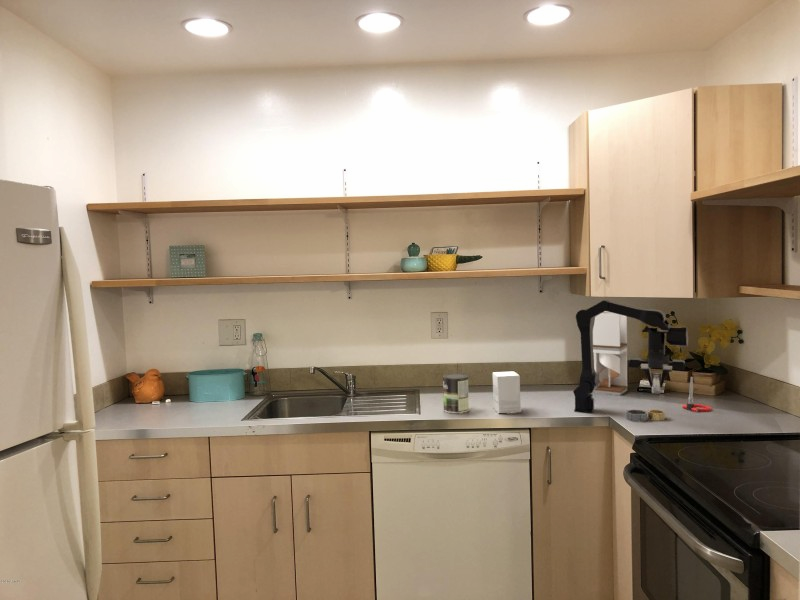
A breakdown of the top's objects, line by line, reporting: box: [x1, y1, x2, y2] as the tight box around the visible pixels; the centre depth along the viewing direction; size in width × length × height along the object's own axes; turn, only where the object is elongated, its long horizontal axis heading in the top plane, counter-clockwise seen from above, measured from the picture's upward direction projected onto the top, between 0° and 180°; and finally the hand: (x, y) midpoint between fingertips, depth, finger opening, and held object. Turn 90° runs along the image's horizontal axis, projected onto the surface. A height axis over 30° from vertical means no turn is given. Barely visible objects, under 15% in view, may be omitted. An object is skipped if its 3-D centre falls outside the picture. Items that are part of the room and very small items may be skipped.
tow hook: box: [682, 376, 712, 413], centre depth 221 cm, size 8×13×9 cm
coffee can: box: [442, 372, 470, 414], centre depth 231 cm, size 10×10×14 cm
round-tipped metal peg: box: [651, 372, 662, 395], centre depth 210 cm, size 3×3×7 cm
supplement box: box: [492, 370, 522, 414], centre depth 228 cm, size 9×9×15 cm
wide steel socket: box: [625, 409, 648, 422], centre depth 211 cm, size 7×7×2 cm
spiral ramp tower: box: [592, 311, 628, 396], centre depth 253 cm, size 11×11×35 cm
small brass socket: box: [647, 409, 666, 421], centre depth 210 cm, size 6×6×2 cm
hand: (656, 387), depth 210 cm, fingers closed on round-tipped metal peg, 3 cm apart
